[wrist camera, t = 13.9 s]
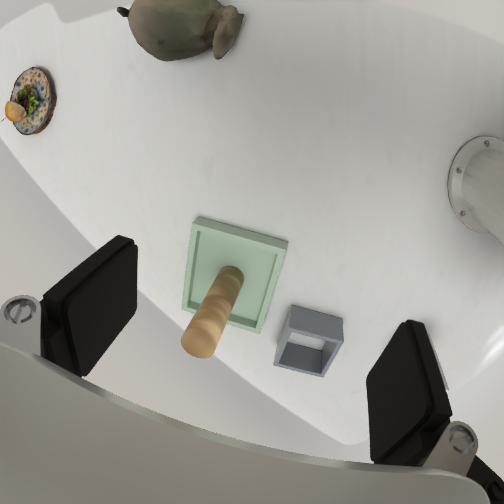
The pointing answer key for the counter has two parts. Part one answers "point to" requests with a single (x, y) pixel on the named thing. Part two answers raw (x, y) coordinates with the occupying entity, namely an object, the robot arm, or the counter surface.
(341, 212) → the counter surface
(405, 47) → the counter surface
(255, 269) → the tray
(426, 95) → the counter surface
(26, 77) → the plate of food
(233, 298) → the dowel
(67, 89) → the counter surface
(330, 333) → the open box
